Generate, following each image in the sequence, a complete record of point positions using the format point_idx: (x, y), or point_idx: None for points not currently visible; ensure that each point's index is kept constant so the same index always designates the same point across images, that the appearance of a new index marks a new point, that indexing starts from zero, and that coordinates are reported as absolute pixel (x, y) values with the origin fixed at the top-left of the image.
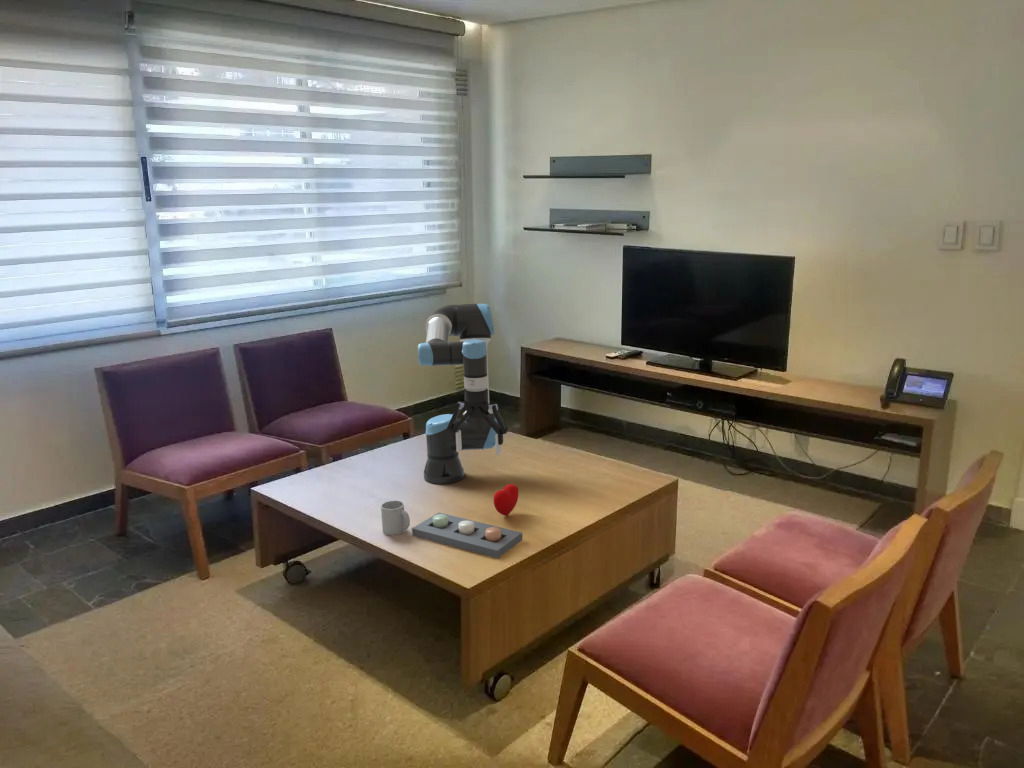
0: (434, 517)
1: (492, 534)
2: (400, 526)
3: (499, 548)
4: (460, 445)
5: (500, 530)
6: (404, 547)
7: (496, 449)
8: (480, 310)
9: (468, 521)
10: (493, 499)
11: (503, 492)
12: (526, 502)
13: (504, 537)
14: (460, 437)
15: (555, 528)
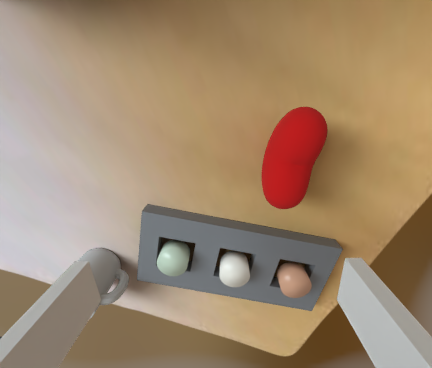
0: (161, 267)
1: (298, 296)
2: (114, 280)
3: (313, 304)
4: (72, 302)
5: (310, 284)
6: (155, 301)
7: (364, 337)
8: None
9: (235, 267)
10: (265, 196)
11: (299, 197)
12: (306, 46)
13: (312, 272)
14: (16, 362)
15: (398, 177)
